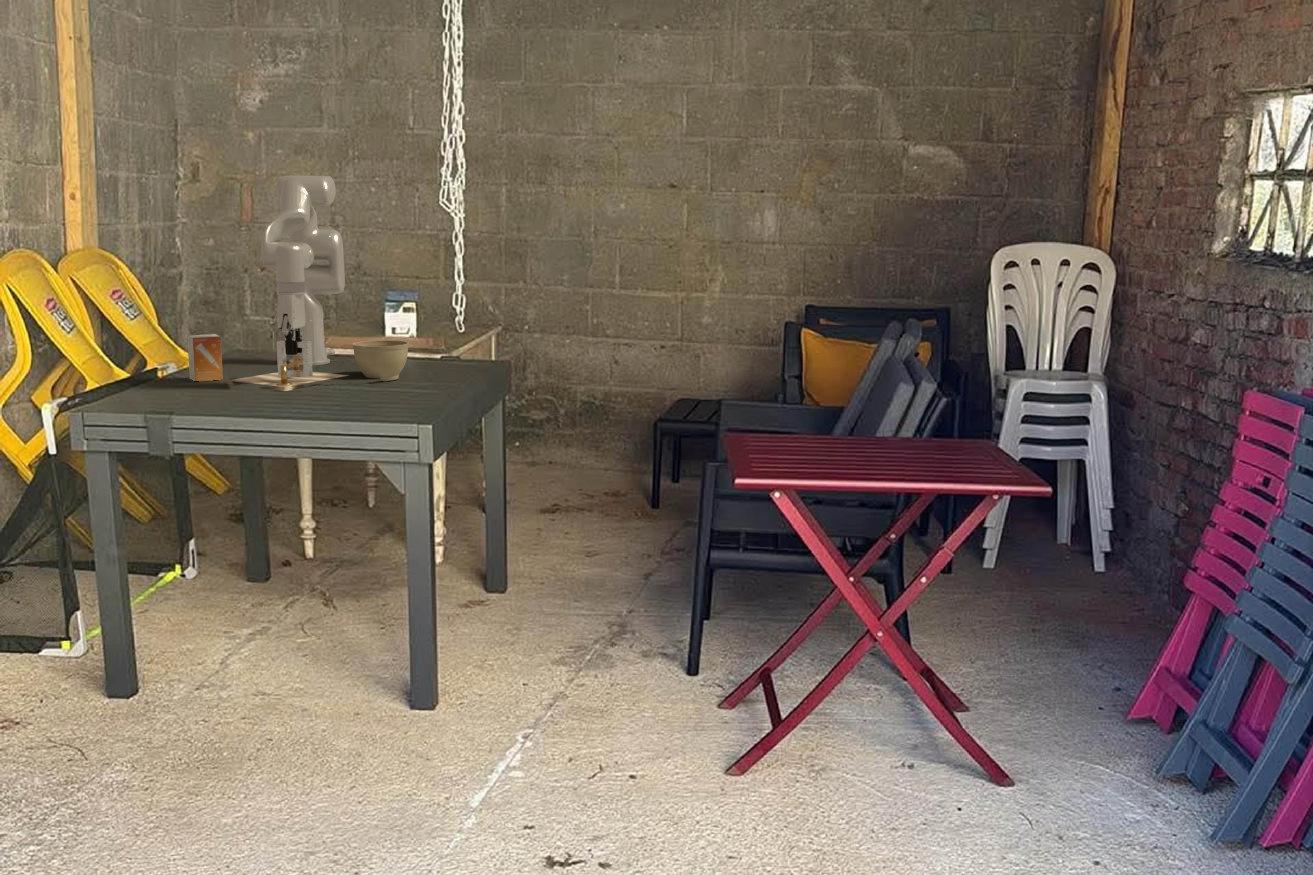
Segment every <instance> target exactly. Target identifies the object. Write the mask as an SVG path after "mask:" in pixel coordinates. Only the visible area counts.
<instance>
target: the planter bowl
mask: <svg viewBox="0 0 1313 875" xmlns="http://www.w3.org/2000/svg"><path fill="white" fill-rule="evenodd" d="M409 344H410V343H409V342H408V341H405V340H396V339H395V340H393V339H392V340H391V339H389V340H388V339H385V340H384V339H383V340H382V339H380V340H377V339H376V340H365V341H357V342H354V343H352V349H353V355H354V359H355V362H356V363H355V364H357V367H358V369H359V370H360V371H361V373H362V374H363V375H364V377H365V378H371V379H380V380H381V381H382V382H388V381H395V380H398V379H399V376H400V373H401V372H402V370H404V367H405V365H406V363H407V360H408V352H409V350H408V349H409Z"/></svg>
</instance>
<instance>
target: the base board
mask: <svg viewBox="0 0 1313 875" xmlns="http://www.w3.org/2000/svg"><path fill="white" fill-rule="evenodd" d="M347 376H348V377H349V376H350V374H339V373H332V372H331V373H330V372H322V371H321V372H320V371H313V376H312V377H309V378H302V377H287V382H292V385H288V386H278V385H276V383H279V382H281V377H278V371H277V372H271V373H265V374H259V375H253V376H247V377H241V378H235V379H234V378H233V379H228V380H227V385H228V384H232V385H231V386H235V385H236V384H235V383H234V382H236V383H237V382H238V383H245V384H246V383H247V384H253V385H254V384H255V385H262V386H263V385H264V387H261V386H260V389H261V388H262V390H272V391H280V392H286V391H287V392H288V391H294V390H299V389H303V388H308V387H315V386H320V385H321V386H322V383H321V384H319V383H318V384H317V383H316V382H321V381H326V380H332V379H337V378H342V377H347ZM310 383H316V384H310Z"/></svg>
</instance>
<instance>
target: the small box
mask: <svg viewBox="0 0 1313 875" xmlns="http://www.w3.org/2000/svg"><path fill="white" fill-rule="evenodd" d="M186 339H187V353H188V354H187V355H188V359H187V360H188V372H189V374H188V375H189V380H190V379H192V380H193V381H192V380H191V381H192V382H194V381H199V382H214V381H213V380H219V381H222V380H221V379H224V378H223V360H222V358H223V355H222V340H221V339H222V338H221V336H220V335H218V334H216V333H213V334H212V333H211V334H196V335H195V334H194V335H187V337H186Z"/></svg>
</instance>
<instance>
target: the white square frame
mask: <svg viewBox="0 0 1313 875" xmlns="http://www.w3.org/2000/svg"><path fill="white" fill-rule="evenodd" d="M297 348H302V349H303V366H302V370H303V371H294V369H290V370H288V369H287V377H302V378H309V377H312V376H313V372H314V371H313V365H312V348H311V341H297ZM276 355H277V356H276V357H277V358H276V359H277V372H278V377H281V367H280V366H282V365H286V364H288V362H287V361H288V360H287V359H288V358H287V354H286V350H285V340H278V341H276Z"/></svg>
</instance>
